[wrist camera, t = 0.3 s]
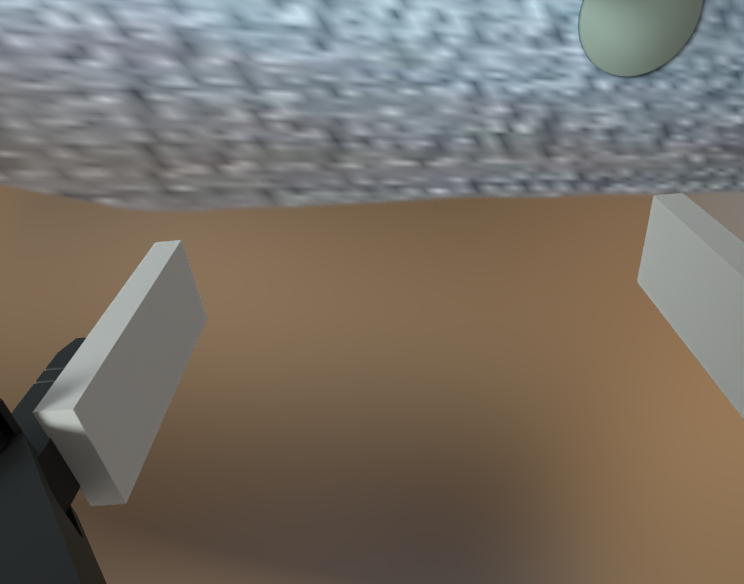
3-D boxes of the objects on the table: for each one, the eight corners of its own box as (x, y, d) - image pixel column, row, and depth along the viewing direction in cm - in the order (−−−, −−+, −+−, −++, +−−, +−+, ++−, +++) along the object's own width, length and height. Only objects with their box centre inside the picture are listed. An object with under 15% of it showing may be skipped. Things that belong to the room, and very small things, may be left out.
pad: (577, -40, 36) (580, -40, 35) (705, -70, 35) (710, -71, 34) (578, 85, 40) (581, 87, 39) (692, 61, 39) (696, 62, 38)
